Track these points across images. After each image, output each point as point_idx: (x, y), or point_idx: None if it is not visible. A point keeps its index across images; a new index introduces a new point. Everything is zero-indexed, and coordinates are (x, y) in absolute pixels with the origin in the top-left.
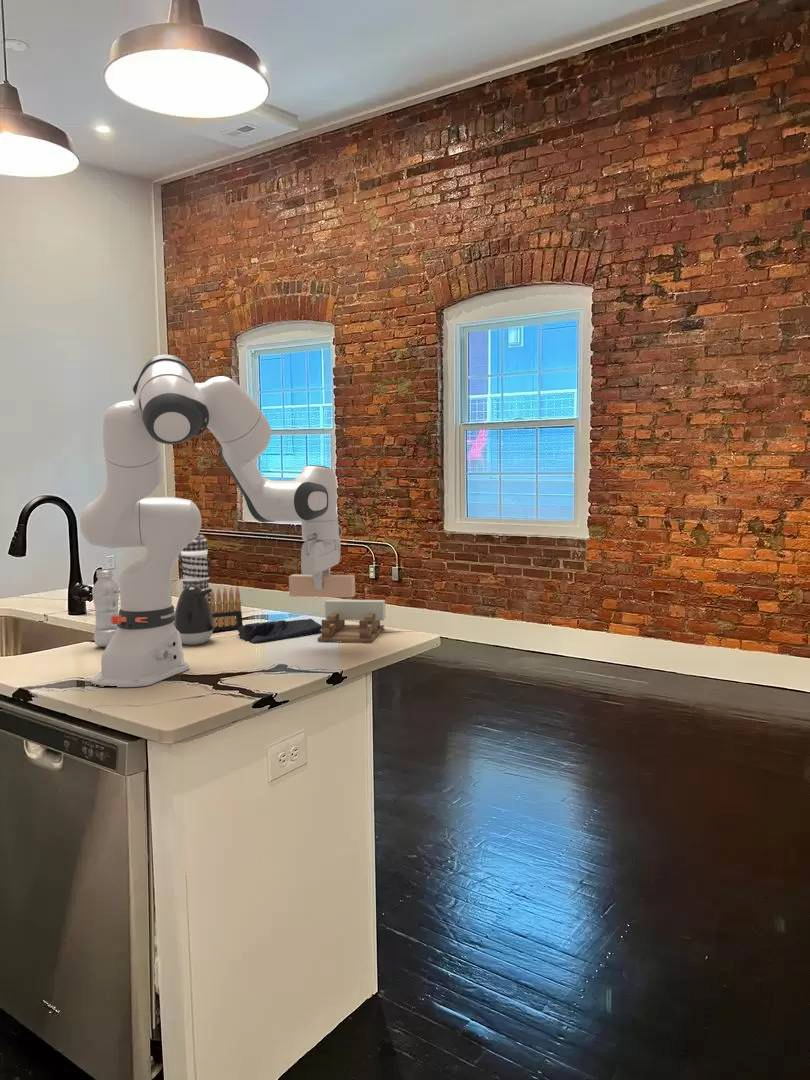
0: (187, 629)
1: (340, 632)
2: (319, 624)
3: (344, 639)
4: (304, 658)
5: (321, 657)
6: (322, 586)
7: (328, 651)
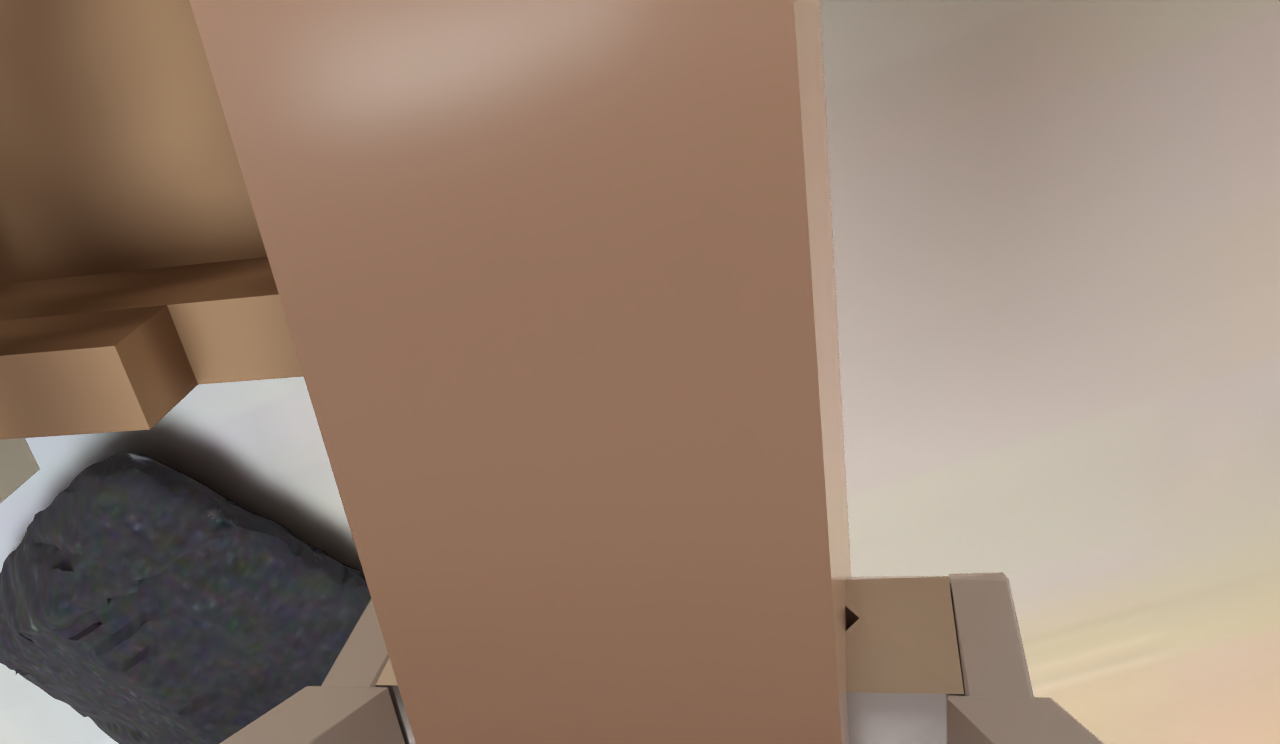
0: None
1: (175, 216)
2: (106, 495)
3: None
4: (1267, 195)
5: (1212, 17)
6: (940, 604)
7: (896, 55)
